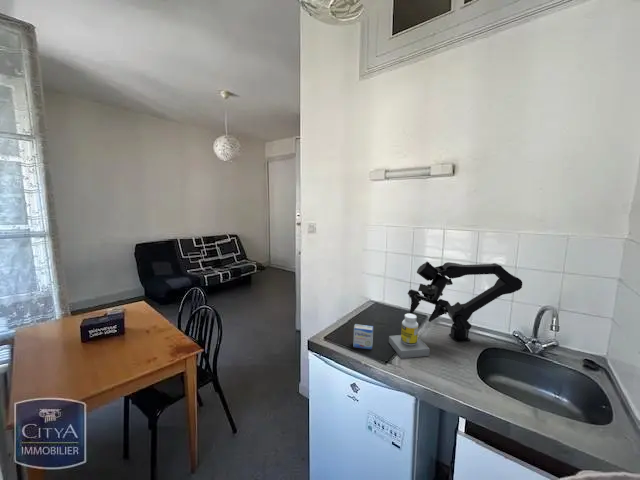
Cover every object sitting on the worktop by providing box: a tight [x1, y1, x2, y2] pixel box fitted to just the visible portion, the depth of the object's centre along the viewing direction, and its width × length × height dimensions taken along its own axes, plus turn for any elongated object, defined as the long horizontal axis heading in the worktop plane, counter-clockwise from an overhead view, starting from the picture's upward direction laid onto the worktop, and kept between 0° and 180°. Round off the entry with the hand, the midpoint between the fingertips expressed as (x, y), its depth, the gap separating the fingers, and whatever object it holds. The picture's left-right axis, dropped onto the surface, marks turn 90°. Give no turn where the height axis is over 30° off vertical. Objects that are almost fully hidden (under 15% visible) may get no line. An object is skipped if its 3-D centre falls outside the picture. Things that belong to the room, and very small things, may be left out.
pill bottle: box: [400, 312, 419, 345], centre depth 115 cm, size 6×6×12 cm
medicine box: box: [352, 323, 374, 350], centre depth 118 cm, size 8×4×9 cm, turn 76°
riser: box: [388, 334, 431, 359], centre depth 116 cm, size 12×12×3 cm
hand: (419, 317), depth 118 cm, fingers open, 9 cm apart
